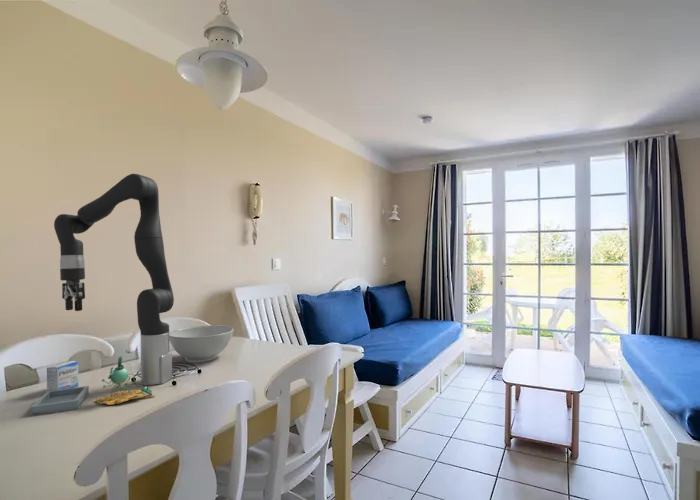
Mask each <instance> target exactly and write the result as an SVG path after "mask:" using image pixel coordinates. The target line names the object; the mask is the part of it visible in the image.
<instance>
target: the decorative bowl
mask: <svg viewBox="0 0 700 500" xmlns="http://www.w3.org/2000/svg"><path fill="white" fill-rule="evenodd" d="M233 335H234V327H232V326H229V325H219V324H218V325H217V324H216V325H215V324H213V325H199V326H198V325H197V326H190V327H184V328H183V327H182V328H178V329H175V330H171V331H169V344H170V345H171V347H172V348H173V349H174V351H175V352H176V353H177V354H178V355H180V356H181V357H182V358H185V360H186V361H187V362H188V363H205V362H209V361H213V360H216V358H218V355H219V354H221V353H222V352H223V351H224V350H225V349H227V346H228V344H229V343H230V342H231V340H232V337H233Z"/></svg>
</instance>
